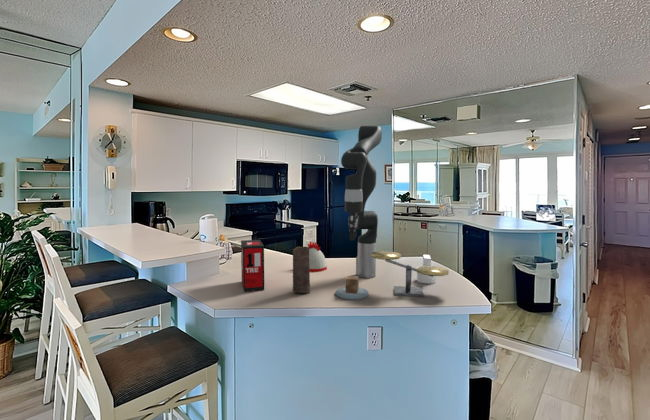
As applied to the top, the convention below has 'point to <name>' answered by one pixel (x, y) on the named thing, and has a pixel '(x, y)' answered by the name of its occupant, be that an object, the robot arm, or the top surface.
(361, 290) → the dish
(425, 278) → the cylinder with rectangular tab
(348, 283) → the walnut block
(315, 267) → the kitchen timer
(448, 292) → the top surface
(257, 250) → the cleaning product box
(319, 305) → the top surface
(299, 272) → the candle
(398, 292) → the balance
